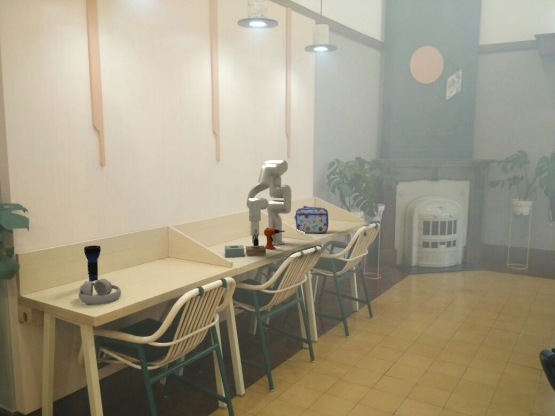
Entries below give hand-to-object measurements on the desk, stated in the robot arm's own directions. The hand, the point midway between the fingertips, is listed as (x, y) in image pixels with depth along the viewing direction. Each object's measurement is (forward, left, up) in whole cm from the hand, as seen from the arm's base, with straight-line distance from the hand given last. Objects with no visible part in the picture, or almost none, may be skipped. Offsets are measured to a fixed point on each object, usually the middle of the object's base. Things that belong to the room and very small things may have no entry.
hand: (255, 244), depth 325 cm
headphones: (+84, -81, -7) cm, 117 cm away
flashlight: (+58, -89, -6) cm, 106 cm away
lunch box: (-70, +51, -7) cm, 87 cm away
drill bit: (0, 0, -6) cm, 6 cm away
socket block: (0, 0, -6) cm, 6 cm away
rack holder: (0, -14, -6) cm, 15 cm away
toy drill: (-11, +14, -6) cm, 19 cm away
